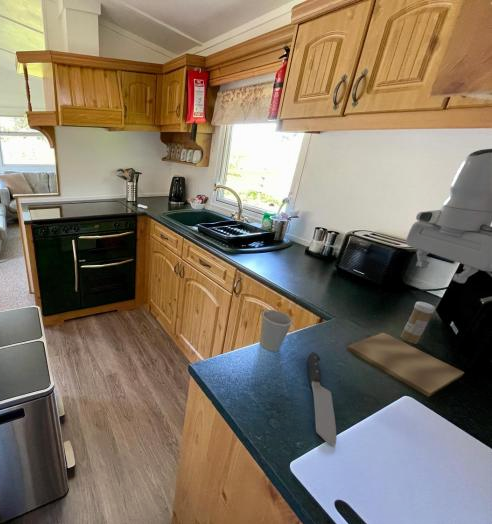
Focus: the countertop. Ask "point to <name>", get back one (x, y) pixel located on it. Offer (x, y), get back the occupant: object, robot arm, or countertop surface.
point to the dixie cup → (274, 329)
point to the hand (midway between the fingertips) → (438, 274)
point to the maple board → (406, 363)
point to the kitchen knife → (321, 402)
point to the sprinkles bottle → (417, 322)
